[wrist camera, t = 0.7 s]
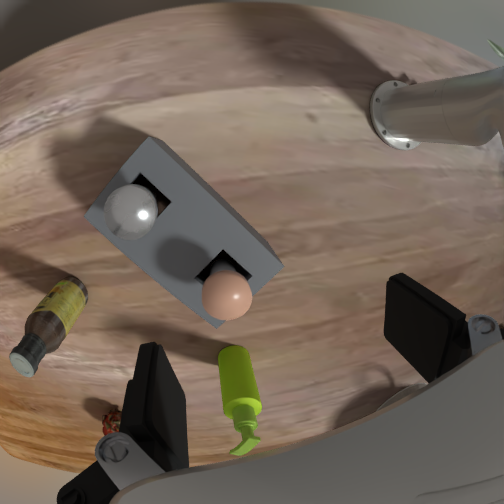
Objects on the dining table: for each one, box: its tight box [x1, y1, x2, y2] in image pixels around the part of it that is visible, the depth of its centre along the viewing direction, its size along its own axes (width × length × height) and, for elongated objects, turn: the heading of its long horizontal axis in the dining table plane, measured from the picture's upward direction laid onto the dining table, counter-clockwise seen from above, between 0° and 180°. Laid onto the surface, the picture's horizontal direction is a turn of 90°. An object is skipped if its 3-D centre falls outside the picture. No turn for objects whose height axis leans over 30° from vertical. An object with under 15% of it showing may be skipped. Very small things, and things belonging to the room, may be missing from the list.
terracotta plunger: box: [202, 259, 252, 320], centre depth 33 cm, size 5×5×8 cm
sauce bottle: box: [9, 277, 88, 377], centre depth 33 cm, size 6×6×20 cm
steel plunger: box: [104, 184, 158, 240], centre depth 28 cm, size 5×5×8 cm
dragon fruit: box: [102, 410, 122, 435], centre depth 50 cm, size 8×8×12 cm
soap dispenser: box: [218, 345, 262, 456], centre depth 42 cm, size 6×7×20 cm
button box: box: [84, 136, 284, 329], centre depth 37 cm, size 12×22×10 cm, turn 44°
